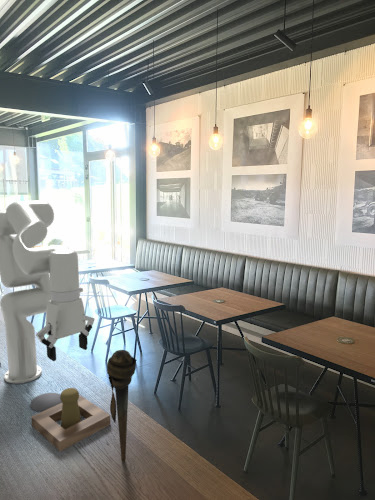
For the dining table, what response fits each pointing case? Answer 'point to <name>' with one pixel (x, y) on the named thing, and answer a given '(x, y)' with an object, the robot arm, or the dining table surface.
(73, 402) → the cork
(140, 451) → the dining table surface
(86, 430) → the square frame
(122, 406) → the decorative torch
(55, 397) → the coaster
